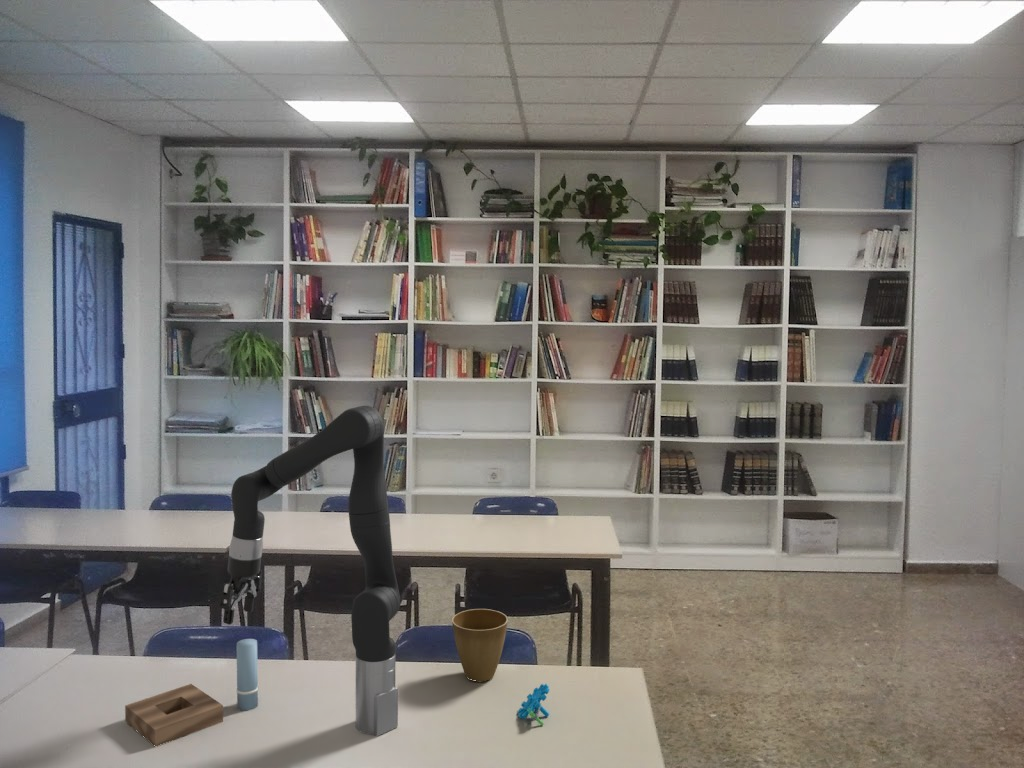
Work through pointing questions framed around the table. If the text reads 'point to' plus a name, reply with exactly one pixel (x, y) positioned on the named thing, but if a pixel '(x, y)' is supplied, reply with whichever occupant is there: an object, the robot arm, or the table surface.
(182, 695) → the socket block
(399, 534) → the table surface
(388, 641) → the robot arm
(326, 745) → the table surface
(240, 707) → the peg
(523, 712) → the blue green construction toy
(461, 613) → the plant pot
